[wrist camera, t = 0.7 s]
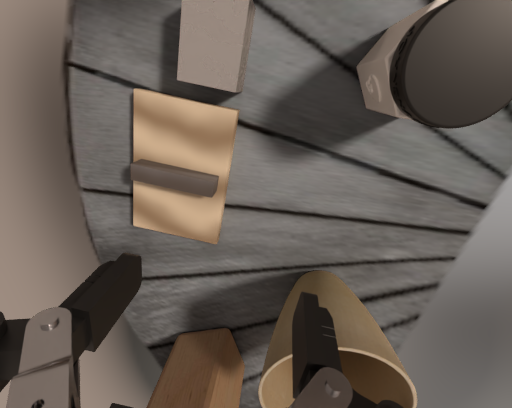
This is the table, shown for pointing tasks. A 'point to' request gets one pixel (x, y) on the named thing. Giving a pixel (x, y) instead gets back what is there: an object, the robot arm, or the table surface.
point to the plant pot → (349, 345)
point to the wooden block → (201, 372)
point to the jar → (442, 64)
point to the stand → (181, 164)
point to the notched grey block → (215, 42)
